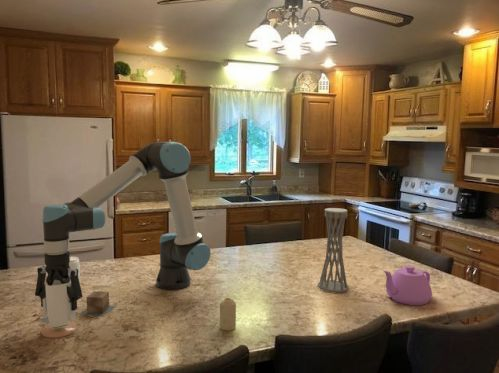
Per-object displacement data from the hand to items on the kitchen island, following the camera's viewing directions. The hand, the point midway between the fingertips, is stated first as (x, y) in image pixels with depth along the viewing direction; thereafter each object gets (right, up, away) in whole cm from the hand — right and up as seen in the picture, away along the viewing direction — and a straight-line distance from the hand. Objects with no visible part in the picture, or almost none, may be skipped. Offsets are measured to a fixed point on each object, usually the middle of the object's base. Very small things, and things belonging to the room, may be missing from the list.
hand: (59, 317), depth 138 cm
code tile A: (-5, -3, +11) cm, 12 cm away
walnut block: (+7, -3, +17) cm, 19 cm away
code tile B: (+7, -3, +17) cm, 19 cm away
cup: (0, -3, 0) cm, 3 cm away
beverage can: (-15, 0, +43) cm, 46 cm away
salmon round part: (0, -4, 0) cm, 4 cm away
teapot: (+129, -3, +34) cm, 133 cm away
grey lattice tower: (+101, -1, +46) cm, 111 cm away
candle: (+56, -5, +5) cm, 56 cm away
